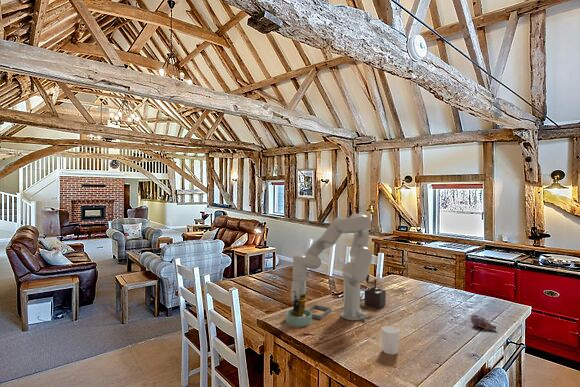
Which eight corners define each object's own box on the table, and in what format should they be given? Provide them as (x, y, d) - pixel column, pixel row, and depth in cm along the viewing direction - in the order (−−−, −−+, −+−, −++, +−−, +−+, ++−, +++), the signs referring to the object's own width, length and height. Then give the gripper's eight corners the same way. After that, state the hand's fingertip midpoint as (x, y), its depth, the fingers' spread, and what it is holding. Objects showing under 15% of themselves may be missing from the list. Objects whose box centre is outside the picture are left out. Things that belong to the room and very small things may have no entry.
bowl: (316, 319, 183) (316, 311, 183) (304, 328, 171) (304, 320, 171) (294, 314, 191) (294, 306, 191) (281, 322, 178) (281, 314, 178)
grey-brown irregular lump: (498, 330, 172) (498, 318, 172) (492, 334, 167) (493, 322, 167) (473, 323, 181) (473, 312, 181) (468, 326, 176) (468, 315, 176)
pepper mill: (386, 304, 209) (387, 276, 209) (378, 308, 201) (379, 280, 201) (365, 298, 220) (365, 272, 220) (356, 303, 212) (357, 275, 212)
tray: (331, 311, 196) (331, 307, 196) (320, 319, 183) (320, 316, 183) (314, 307, 202) (314, 304, 202) (303, 315, 189) (303, 312, 189)
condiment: (306, 316, 180) (309, 295, 179) (294, 318, 175) (297, 297, 174) (298, 310, 186) (301, 290, 185) (286, 312, 181) (290, 291, 180)
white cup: (378, 347, 151) (378, 325, 151) (394, 346, 152) (395, 325, 152) (385, 355, 143) (385, 333, 143) (402, 355, 144) (402, 332, 144)
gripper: (300, 273, 190) (300, 303, 190) (285, 279, 175) (285, 312, 175) (312, 274, 186) (311, 305, 186) (297, 281, 171) (297, 315, 171)
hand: (298, 308), depth 181 cm, fingers closed on condiment, 6 cm apart
